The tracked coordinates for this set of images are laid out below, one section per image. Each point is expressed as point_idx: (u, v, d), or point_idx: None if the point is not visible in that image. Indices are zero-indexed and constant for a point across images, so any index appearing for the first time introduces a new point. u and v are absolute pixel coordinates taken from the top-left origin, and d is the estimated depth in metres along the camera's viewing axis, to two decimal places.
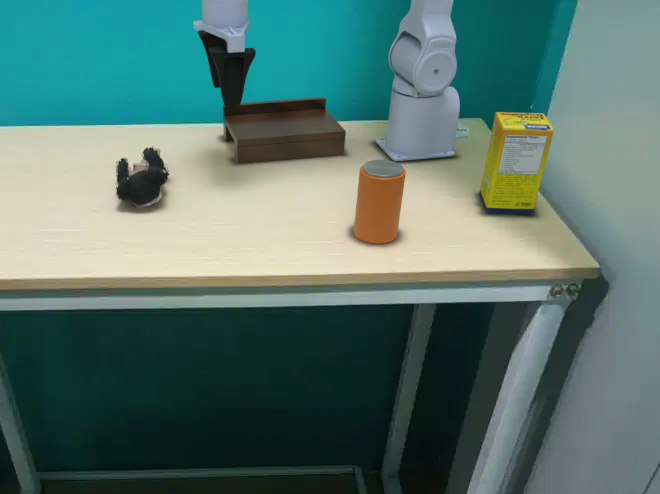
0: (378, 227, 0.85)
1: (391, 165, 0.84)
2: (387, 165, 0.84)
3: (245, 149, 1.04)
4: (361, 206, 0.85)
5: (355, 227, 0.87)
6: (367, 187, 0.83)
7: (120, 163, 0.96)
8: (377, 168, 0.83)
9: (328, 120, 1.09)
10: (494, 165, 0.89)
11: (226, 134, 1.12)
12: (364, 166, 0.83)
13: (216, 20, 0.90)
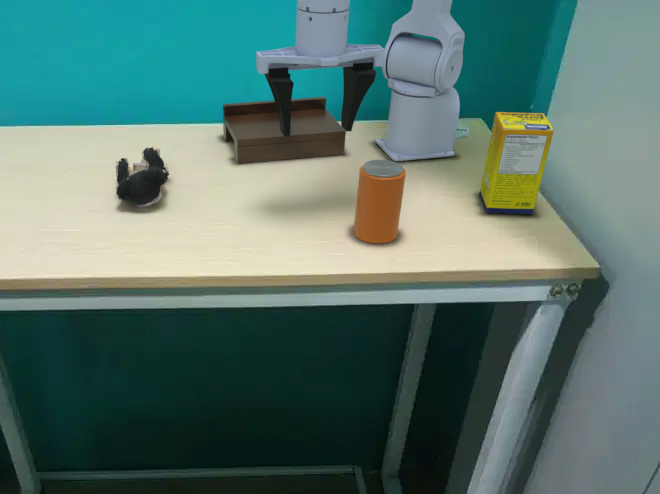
0: (378, 227, 0.85)
1: (391, 165, 0.84)
2: (387, 165, 0.84)
3: (245, 149, 1.04)
4: (361, 206, 0.85)
5: (355, 227, 0.87)
6: (367, 187, 0.83)
7: (120, 163, 0.96)
8: (377, 168, 0.83)
9: (328, 120, 1.09)
10: (494, 165, 0.89)
11: (226, 134, 1.12)
12: (364, 166, 0.83)
13: (345, 46, 0.82)
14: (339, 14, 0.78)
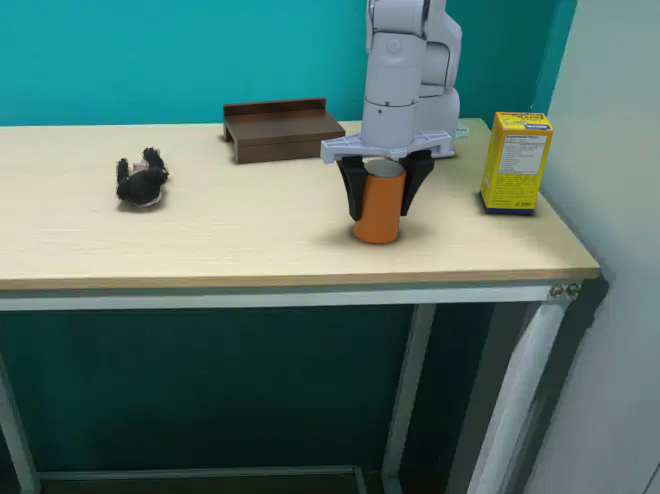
0: (378, 227, 0.85)
1: (391, 165, 0.84)
2: (387, 165, 0.84)
3: (245, 149, 1.04)
4: (362, 206, 0.85)
5: (355, 227, 0.87)
6: (368, 187, 0.83)
7: (120, 163, 0.96)
8: (377, 168, 0.83)
9: (328, 120, 1.09)
10: (494, 165, 0.89)
11: (226, 134, 1.12)
12: (364, 166, 0.83)
13: (412, 136, 0.80)
14: (409, 107, 0.77)
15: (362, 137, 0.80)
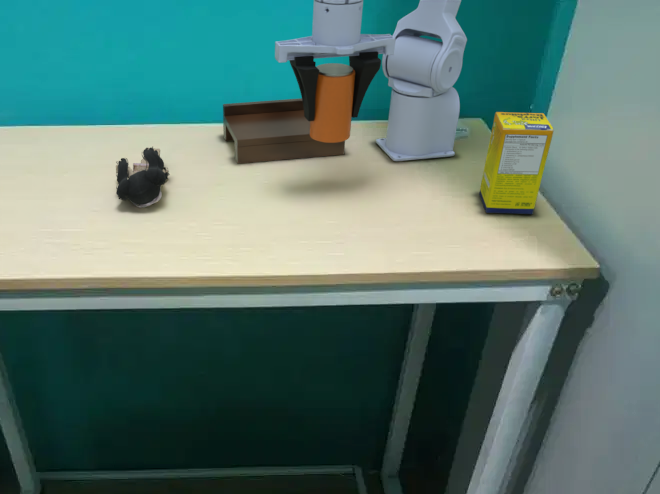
0: (330, 126, 0.92)
1: (342, 67, 0.90)
2: (338, 67, 0.90)
3: (245, 149, 1.04)
4: (315, 106, 0.91)
5: (310, 128, 0.94)
6: (319, 86, 0.89)
7: (120, 163, 0.96)
8: (328, 69, 0.89)
9: None
10: (494, 165, 0.89)
11: (226, 134, 1.12)
12: None
13: (359, 35, 0.86)
14: (354, 5, 0.83)
15: (313, 38, 0.87)
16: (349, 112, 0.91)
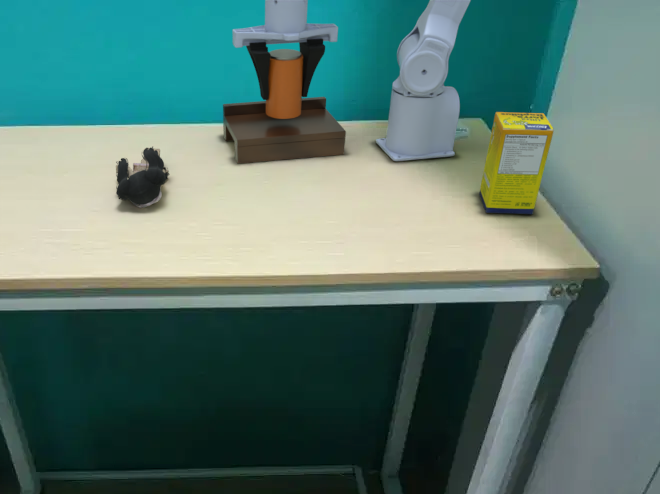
0: (282, 104, 1.04)
1: (292, 52, 1.03)
2: (289, 52, 1.03)
3: (245, 149, 1.04)
4: (269, 87, 1.04)
5: (266, 107, 1.07)
6: (272, 68, 1.02)
7: (120, 163, 0.96)
8: (280, 54, 1.02)
9: (328, 120, 1.09)
10: (494, 165, 0.89)
11: (226, 134, 1.12)
12: (270, 52, 1.03)
13: (305, 24, 0.99)
14: None
15: (265, 26, 1.00)
16: (299, 92, 1.04)
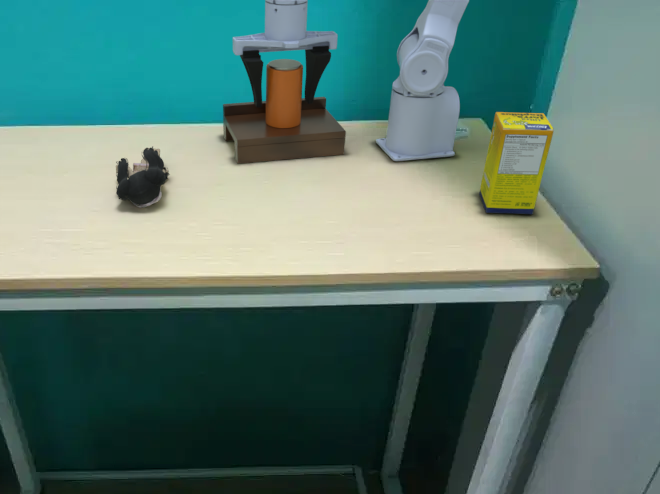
0: (282, 114, 1.05)
1: (291, 62, 1.04)
2: (288, 62, 1.04)
3: (245, 149, 1.04)
4: (268, 96, 1.05)
5: (266, 116, 1.08)
6: (271, 78, 1.03)
7: (120, 163, 0.96)
8: (280, 64, 1.03)
9: (328, 120, 1.09)
10: (494, 165, 0.89)
11: (226, 134, 1.12)
12: (269, 63, 1.04)
13: (305, 32, 1.00)
14: (299, 6, 0.97)
15: (265, 34, 1.00)
16: (298, 101, 1.05)
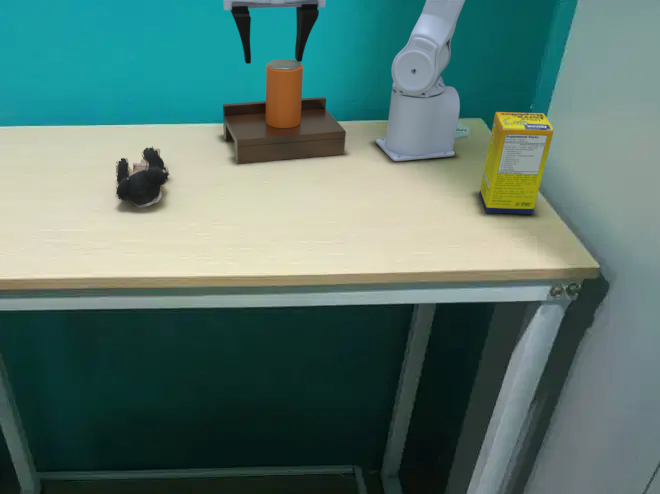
0: (282, 114, 1.05)
1: (291, 62, 1.04)
2: (288, 62, 1.04)
3: (245, 149, 1.04)
4: (268, 96, 1.05)
5: (266, 116, 1.08)
6: (271, 78, 1.03)
7: (120, 163, 0.96)
8: (280, 64, 1.03)
9: (328, 120, 1.09)
10: (494, 165, 0.89)
11: (226, 134, 1.12)
12: (269, 63, 1.04)
13: None
14: None
15: None
16: (298, 101, 1.05)
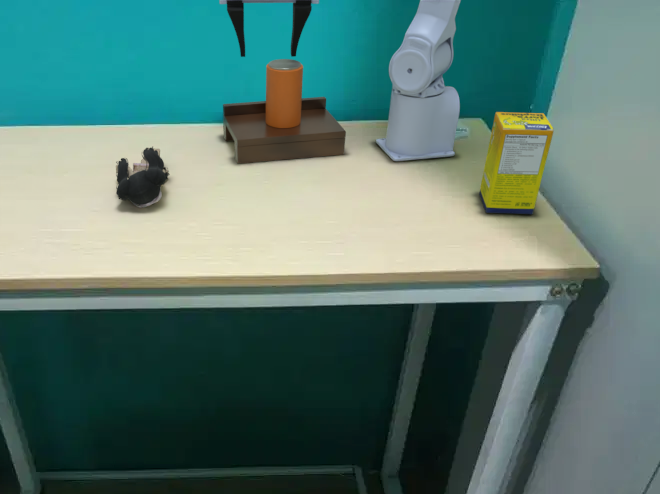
0: (282, 114, 1.05)
1: (291, 62, 1.04)
2: (288, 62, 1.04)
3: (245, 149, 1.04)
4: (268, 96, 1.05)
5: (266, 116, 1.08)
6: (271, 78, 1.03)
7: (120, 163, 0.96)
8: (280, 64, 1.03)
9: (328, 120, 1.09)
10: (494, 165, 0.89)
11: (226, 134, 1.12)
12: (269, 63, 1.04)
13: None
14: None
15: None
16: (298, 101, 1.05)
